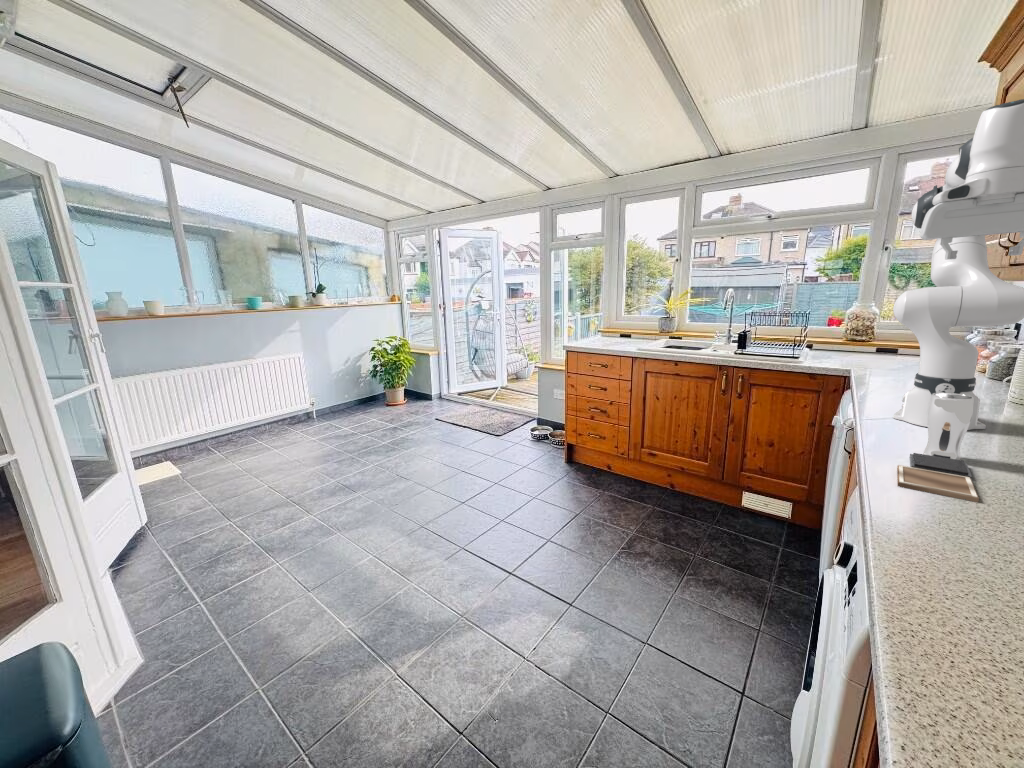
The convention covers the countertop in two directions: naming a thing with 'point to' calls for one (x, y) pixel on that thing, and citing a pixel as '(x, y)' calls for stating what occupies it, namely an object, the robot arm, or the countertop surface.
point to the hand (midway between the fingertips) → (981, 257)
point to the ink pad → (940, 464)
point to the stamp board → (936, 482)
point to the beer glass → (948, 424)
